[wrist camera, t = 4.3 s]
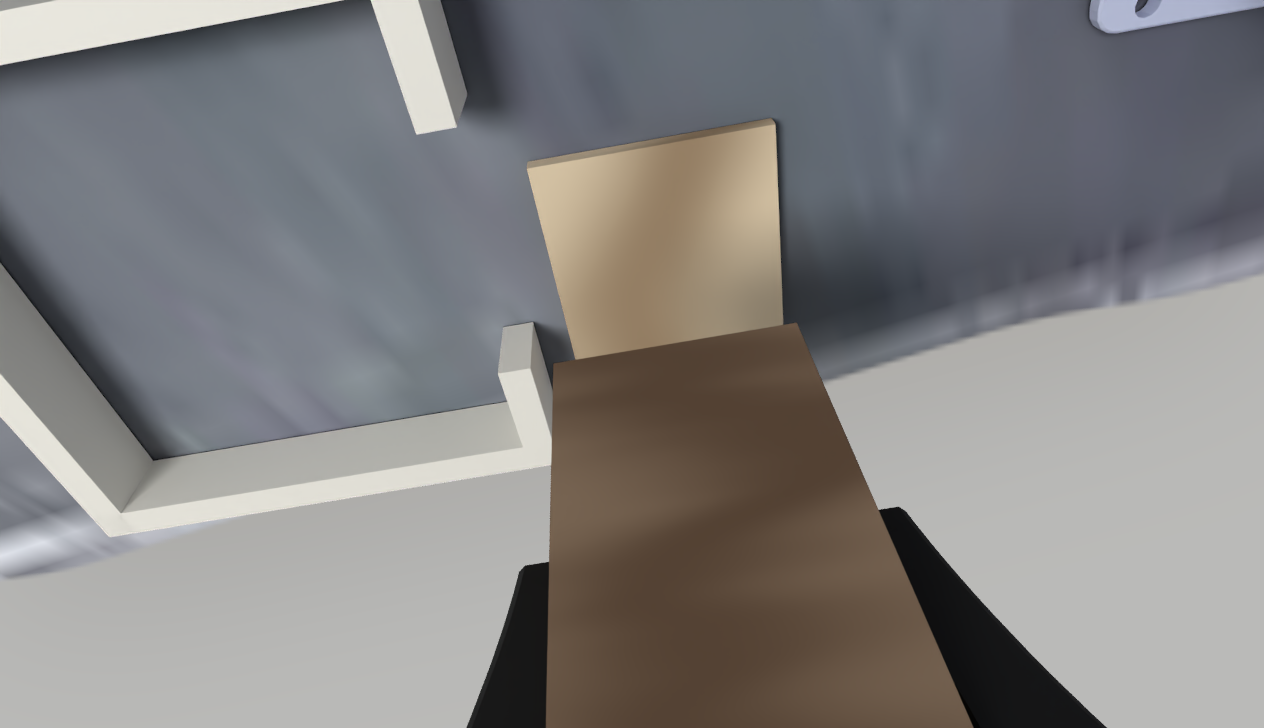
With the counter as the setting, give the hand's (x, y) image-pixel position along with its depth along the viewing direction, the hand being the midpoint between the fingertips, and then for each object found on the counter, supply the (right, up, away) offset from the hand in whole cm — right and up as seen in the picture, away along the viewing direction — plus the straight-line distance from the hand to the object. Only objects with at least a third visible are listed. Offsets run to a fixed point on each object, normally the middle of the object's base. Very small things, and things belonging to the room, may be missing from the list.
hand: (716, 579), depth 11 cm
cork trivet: (0, +6, +8) cm, 10 cm away
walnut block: (0, +2, +3) cm, 3 cm away
